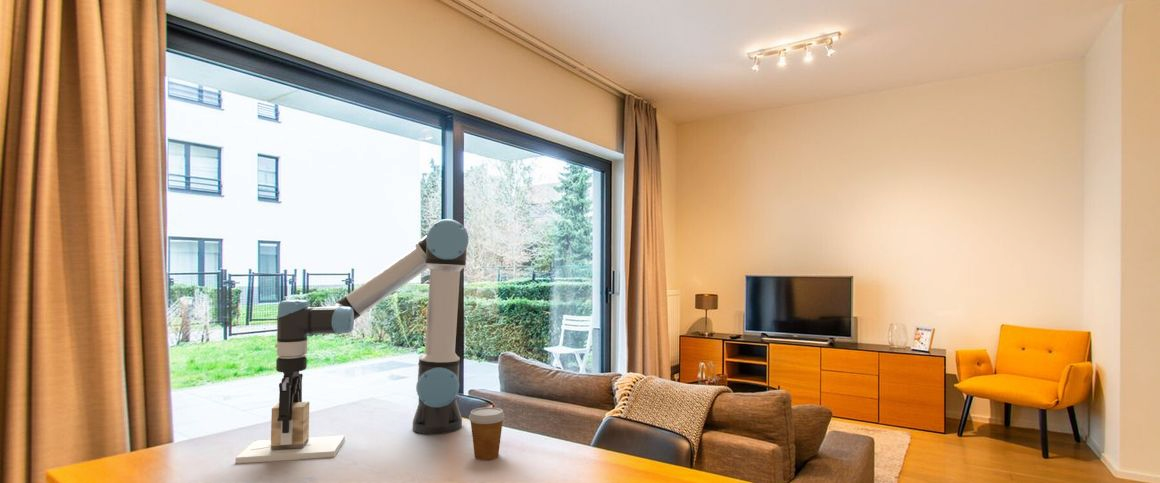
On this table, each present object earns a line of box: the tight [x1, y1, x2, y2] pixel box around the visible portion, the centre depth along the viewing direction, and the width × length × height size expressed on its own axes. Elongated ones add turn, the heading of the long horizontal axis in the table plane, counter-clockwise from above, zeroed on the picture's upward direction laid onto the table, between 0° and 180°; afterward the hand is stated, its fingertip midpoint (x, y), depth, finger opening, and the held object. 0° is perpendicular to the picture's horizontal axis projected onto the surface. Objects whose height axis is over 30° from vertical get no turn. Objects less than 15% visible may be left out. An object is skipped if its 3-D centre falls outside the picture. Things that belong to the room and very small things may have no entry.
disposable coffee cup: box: [468, 406, 505, 461], centre depth 153 cm, size 10×10×12 cm
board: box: [235, 435, 346, 464], centre depth 157 cm, size 24×14×2 cm, turn 102°
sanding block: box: [270, 401, 310, 450], centre depth 157 cm, size 8×6×11 cm
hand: (290, 440), depth 157 cm, fingers closed on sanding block, 6 cm apart
